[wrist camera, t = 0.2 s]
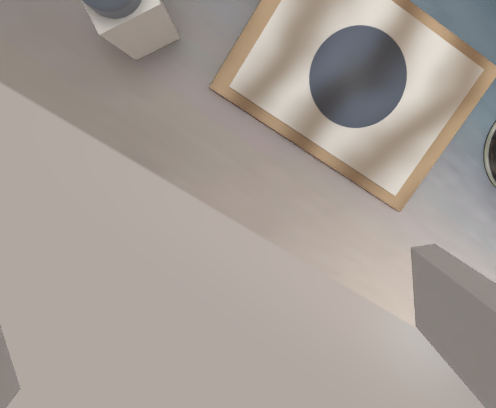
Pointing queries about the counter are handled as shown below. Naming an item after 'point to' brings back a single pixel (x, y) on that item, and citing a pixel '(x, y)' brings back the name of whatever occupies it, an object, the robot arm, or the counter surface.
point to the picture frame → (357, 86)
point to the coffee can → (491, 155)
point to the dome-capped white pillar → (132, 24)
